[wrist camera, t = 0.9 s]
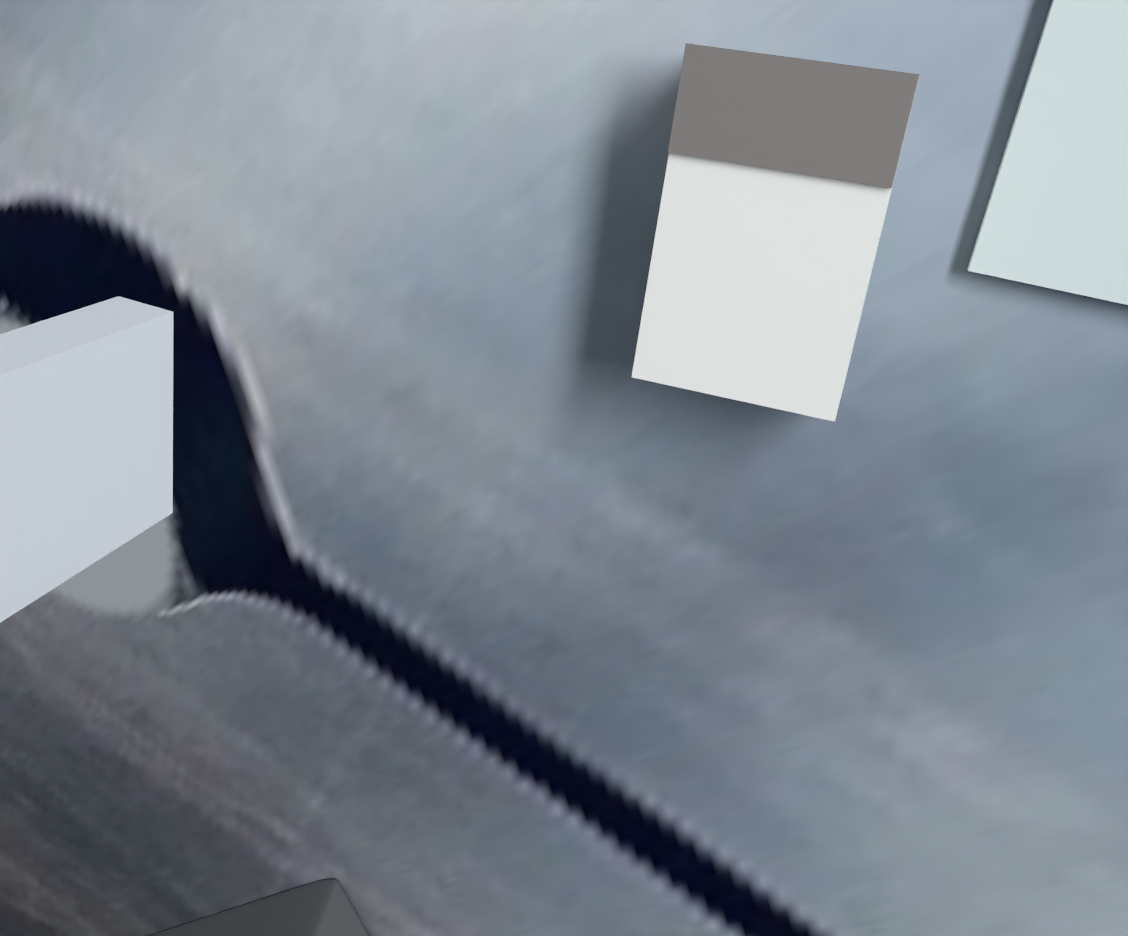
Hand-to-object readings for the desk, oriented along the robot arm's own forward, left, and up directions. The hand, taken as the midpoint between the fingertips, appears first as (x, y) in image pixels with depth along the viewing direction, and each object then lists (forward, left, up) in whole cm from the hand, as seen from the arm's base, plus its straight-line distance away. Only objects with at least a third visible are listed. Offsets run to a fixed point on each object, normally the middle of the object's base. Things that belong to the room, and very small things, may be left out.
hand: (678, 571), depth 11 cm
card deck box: (+1, +2, -25) cm, 25 cm away
